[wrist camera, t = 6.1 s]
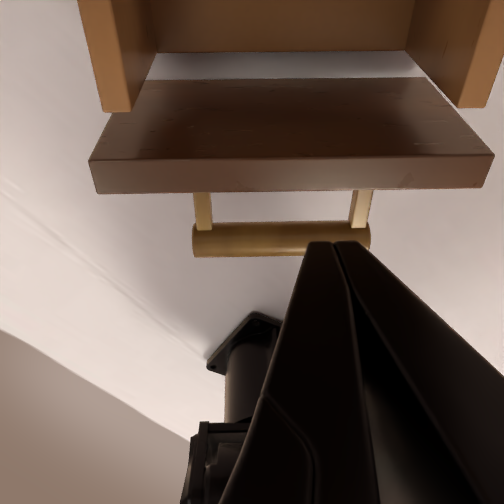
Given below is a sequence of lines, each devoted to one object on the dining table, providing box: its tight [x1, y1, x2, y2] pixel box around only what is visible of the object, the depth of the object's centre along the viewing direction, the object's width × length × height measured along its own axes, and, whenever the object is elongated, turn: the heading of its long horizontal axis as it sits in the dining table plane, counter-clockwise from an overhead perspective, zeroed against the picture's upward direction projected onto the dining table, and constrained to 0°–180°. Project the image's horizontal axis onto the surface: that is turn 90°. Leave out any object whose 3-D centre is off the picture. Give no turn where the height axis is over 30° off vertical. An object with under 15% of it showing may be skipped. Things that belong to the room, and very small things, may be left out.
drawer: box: [77, 0, 504, 258], centre depth 13 cm, size 18×12×6 cm, turn 0°
